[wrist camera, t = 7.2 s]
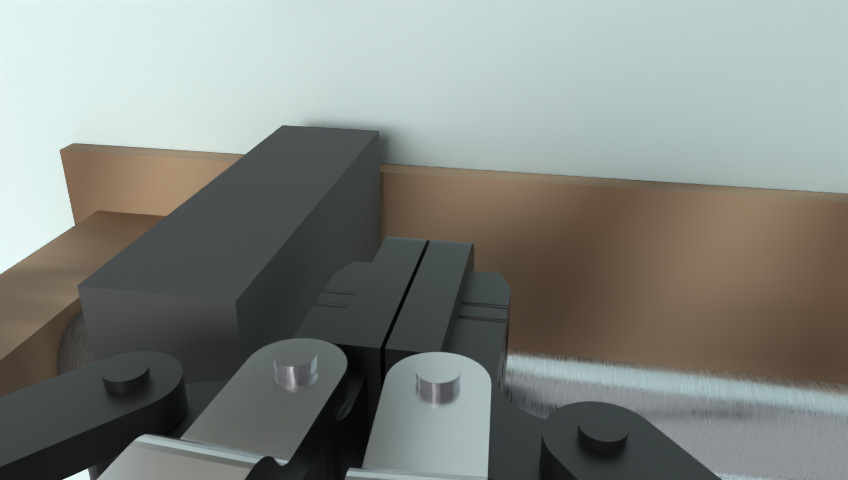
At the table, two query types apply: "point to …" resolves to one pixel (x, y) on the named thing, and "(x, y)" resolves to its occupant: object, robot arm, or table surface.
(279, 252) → the dark grey frame
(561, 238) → the stand
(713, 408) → the pipe
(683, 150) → the table surface
